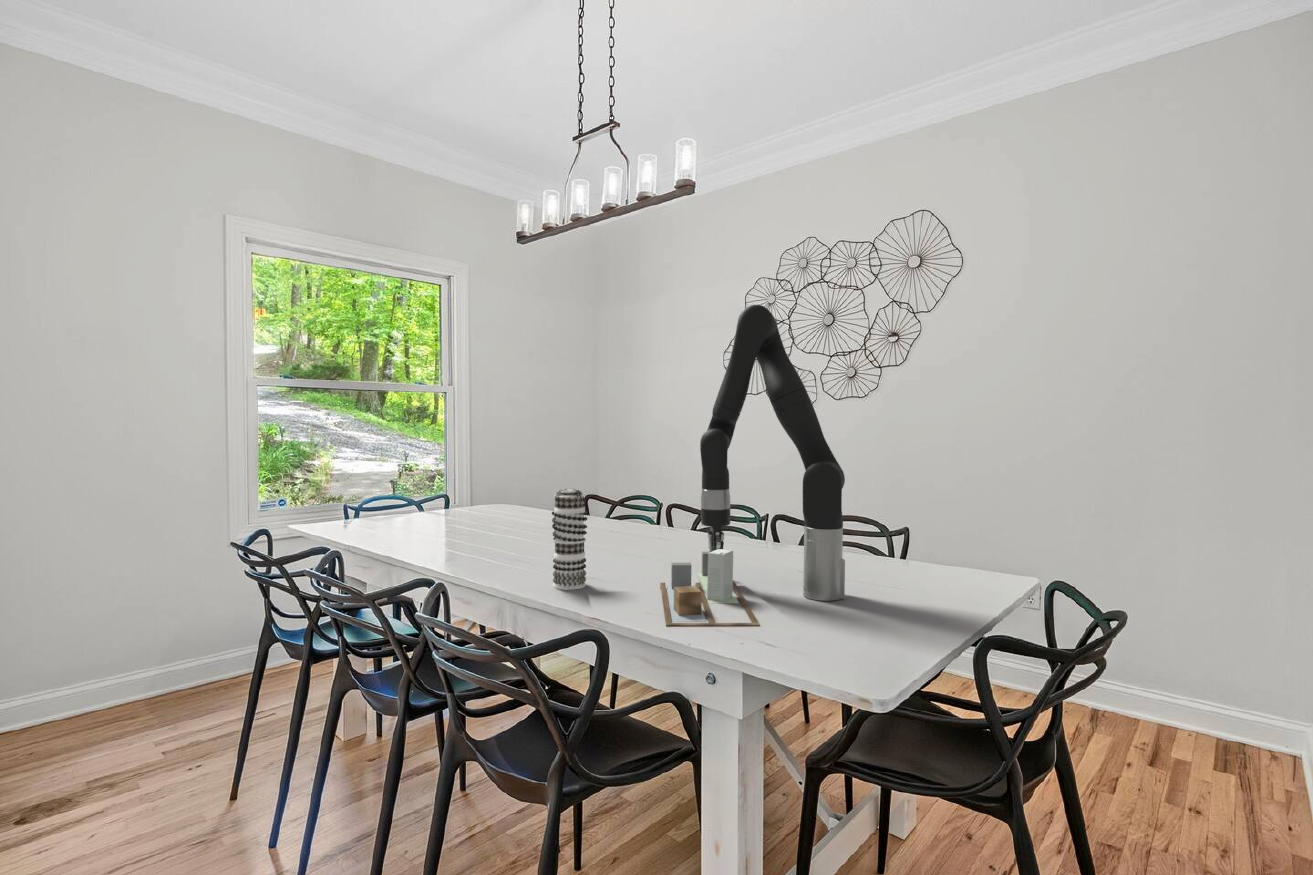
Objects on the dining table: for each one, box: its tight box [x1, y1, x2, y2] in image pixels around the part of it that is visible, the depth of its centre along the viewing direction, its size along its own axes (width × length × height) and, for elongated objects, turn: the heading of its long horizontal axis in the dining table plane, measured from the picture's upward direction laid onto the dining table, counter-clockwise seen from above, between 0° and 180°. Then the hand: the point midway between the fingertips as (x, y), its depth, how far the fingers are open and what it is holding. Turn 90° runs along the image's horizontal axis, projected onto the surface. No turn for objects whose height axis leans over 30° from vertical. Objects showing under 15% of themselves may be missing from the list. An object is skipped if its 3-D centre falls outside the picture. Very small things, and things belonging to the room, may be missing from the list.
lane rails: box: [659, 582, 761, 628], centre depth 156 cm, size 19×35×2 cm, turn 2°
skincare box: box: [706, 548, 734, 602], centre depth 160 cm, size 6×4×12 cm
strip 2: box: [697, 551, 740, 604], centre depth 171 cm, size 7×30×7 cm, turn 2°
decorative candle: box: [551, 488, 589, 591], centre depth 176 cm, size 9×9×25 cm
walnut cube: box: [674, 585, 703, 616], centre depth 149 cm, size 5×5×5 cm
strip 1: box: [666, 562, 707, 623], centre depth 157 cm, size 7×30×7 cm, turn 2°
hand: (715, 573), depth 175 cm, fingers closed
